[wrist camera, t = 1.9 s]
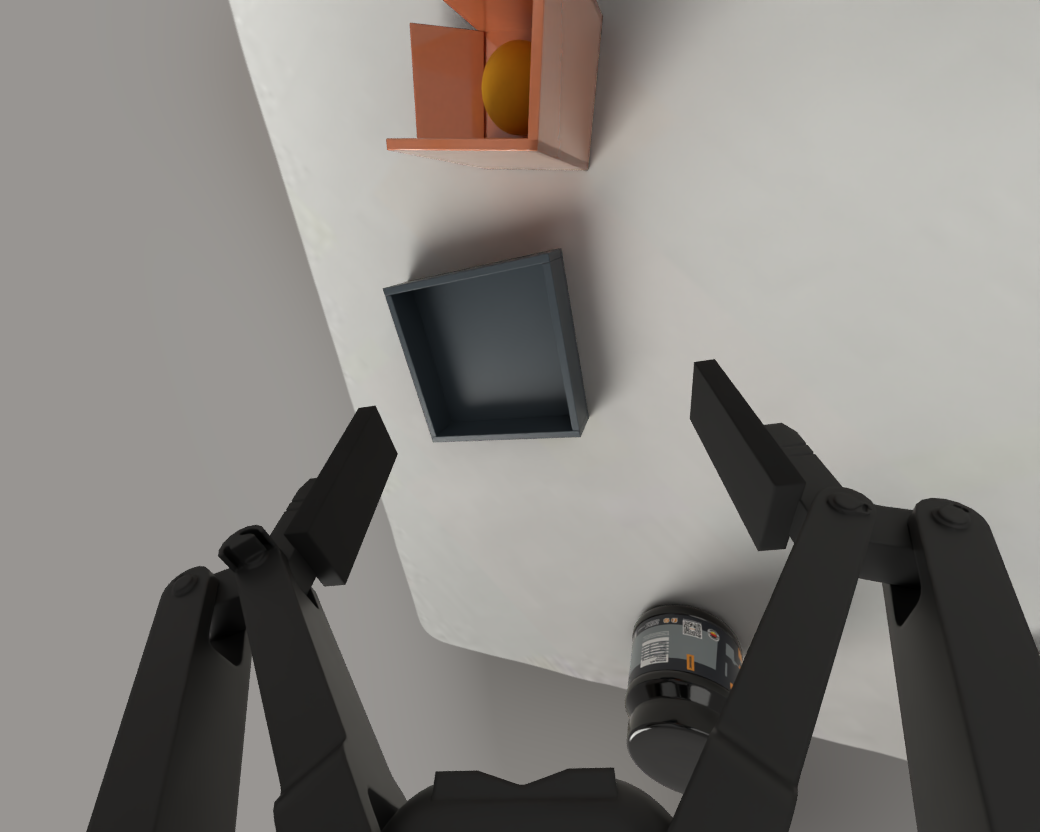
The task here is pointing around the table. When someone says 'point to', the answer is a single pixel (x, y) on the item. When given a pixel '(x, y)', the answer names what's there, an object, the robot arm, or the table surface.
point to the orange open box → (553, 85)
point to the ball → (508, 86)
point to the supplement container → (677, 689)
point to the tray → (493, 350)
